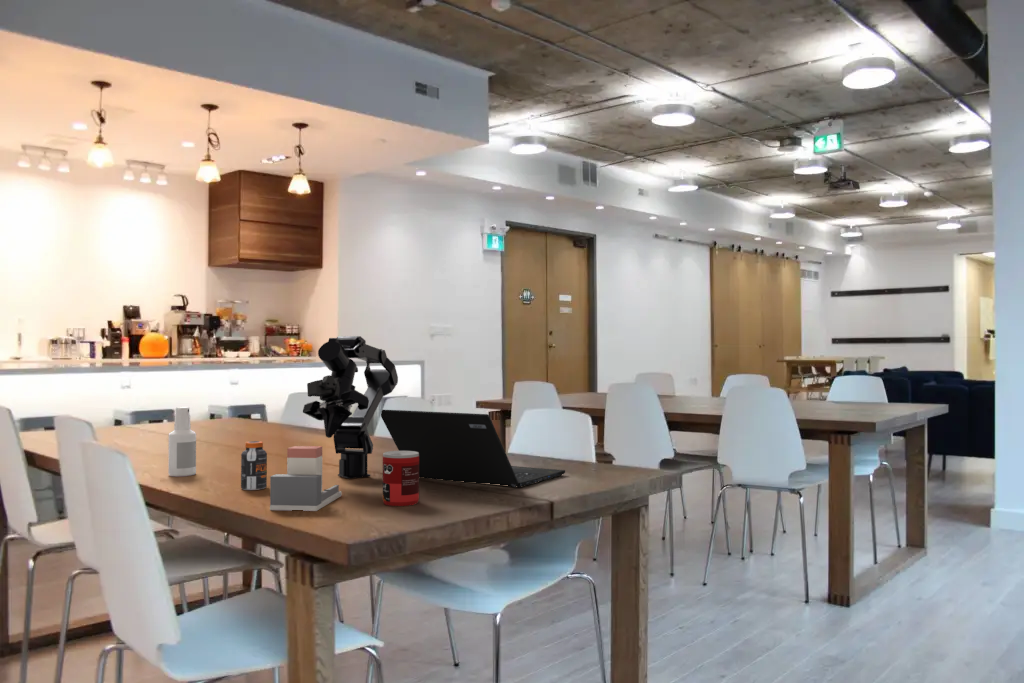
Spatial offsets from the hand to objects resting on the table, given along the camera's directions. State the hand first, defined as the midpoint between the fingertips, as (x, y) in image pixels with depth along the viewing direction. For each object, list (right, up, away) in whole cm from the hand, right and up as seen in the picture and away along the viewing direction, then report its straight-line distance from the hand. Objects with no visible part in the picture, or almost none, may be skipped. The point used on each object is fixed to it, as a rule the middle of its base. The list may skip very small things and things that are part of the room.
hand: (328, 437), depth 193 cm
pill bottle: (-18, -12, -2) cm, 22 cm away
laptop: (+35, -13, +10) cm, 39 cm away
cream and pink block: (0, -11, -21) cm, 24 cm away
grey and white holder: (0, -12, -18) cm, 22 cm away
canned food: (+21, -12, -20) cm, 31 cm away
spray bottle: (-43, -12, +18) cm, 49 cm away
